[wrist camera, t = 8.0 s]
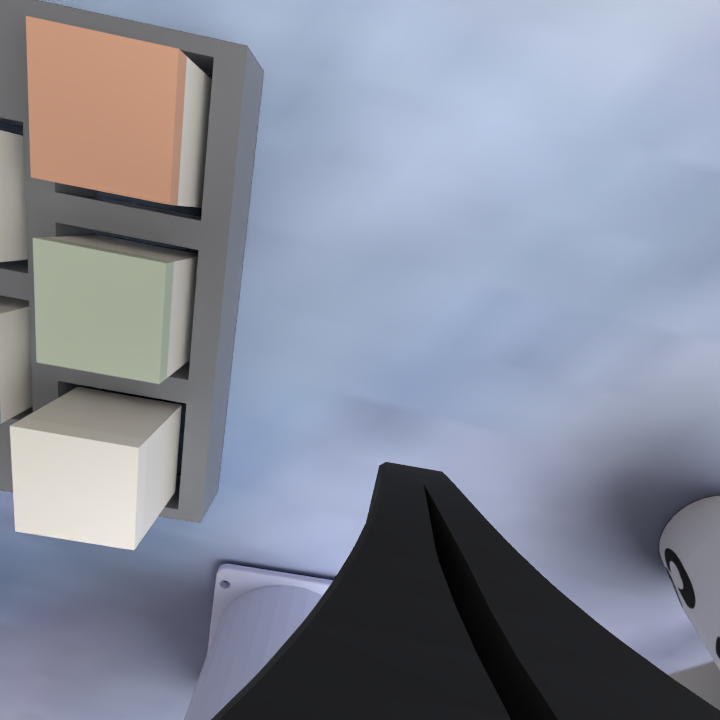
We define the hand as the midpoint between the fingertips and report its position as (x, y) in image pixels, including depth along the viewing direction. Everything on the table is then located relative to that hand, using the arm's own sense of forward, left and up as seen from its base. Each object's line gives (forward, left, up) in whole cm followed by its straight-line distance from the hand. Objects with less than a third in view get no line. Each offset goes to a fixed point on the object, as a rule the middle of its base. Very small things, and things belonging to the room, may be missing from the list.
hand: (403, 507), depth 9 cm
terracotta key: (+7, +10, -10) cm, 16 cm away
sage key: (+1, +10, -10) cm, 14 cm away
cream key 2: (-5, +10, -9) cm, 14 cm away
